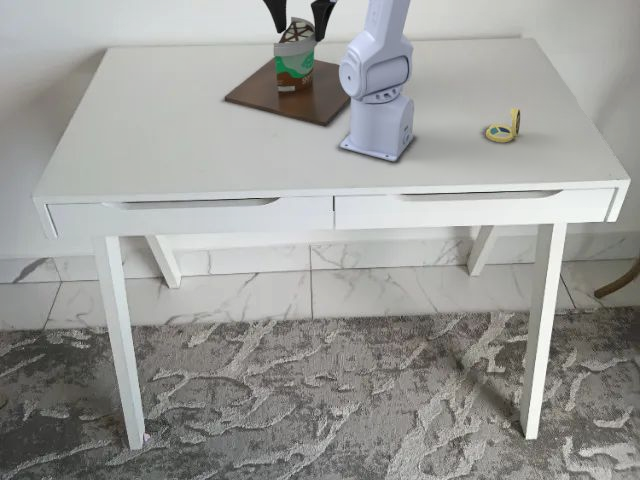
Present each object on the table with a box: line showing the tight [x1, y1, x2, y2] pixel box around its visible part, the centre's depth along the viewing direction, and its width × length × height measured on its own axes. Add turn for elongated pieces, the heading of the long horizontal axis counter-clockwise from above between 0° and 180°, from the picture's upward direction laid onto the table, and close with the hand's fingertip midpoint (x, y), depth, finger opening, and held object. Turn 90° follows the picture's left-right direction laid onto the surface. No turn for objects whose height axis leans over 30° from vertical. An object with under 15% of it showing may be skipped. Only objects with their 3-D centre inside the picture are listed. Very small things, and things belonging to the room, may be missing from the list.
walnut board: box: [224, 56, 351, 127], centre depth 119 cm, size 20×20×1 cm
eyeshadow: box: [485, 107, 521, 143], centre depth 105 cm, size 4×5×5 cm
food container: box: [273, 16, 319, 95], centre depth 116 cm, size 12×6×10 cm, turn 167°
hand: (300, 35), depth 114 cm, fingers open, 7 cm apart
